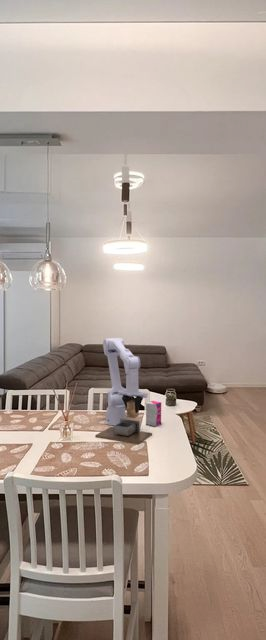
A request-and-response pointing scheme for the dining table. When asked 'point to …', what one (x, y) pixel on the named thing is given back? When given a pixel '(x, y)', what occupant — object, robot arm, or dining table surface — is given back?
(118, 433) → the bracket
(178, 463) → the dining table surface
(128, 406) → the brown rectangular block
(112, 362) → the robot arm
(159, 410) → the supplement box
